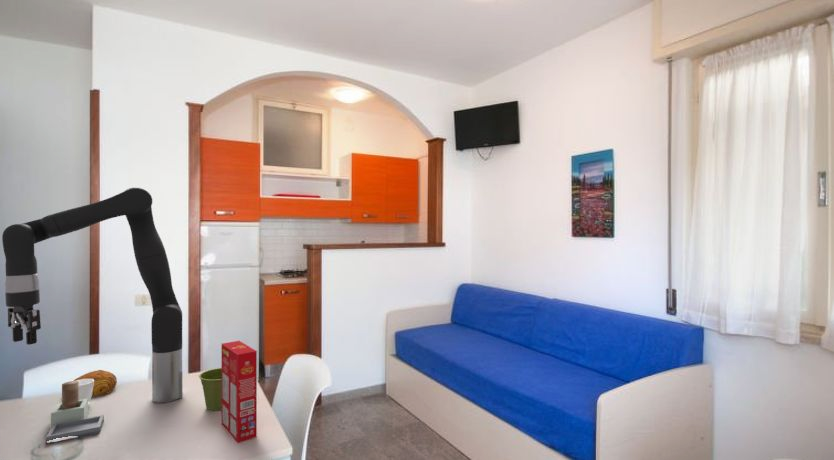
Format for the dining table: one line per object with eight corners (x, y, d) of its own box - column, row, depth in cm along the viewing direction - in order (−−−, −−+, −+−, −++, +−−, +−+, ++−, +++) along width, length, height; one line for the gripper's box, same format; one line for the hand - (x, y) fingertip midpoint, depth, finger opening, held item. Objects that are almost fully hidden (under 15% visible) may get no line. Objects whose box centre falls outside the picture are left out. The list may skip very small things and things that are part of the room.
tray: (103, 421, 131) (103, 414, 131) (99, 433, 123) (99, 426, 123) (54, 430, 125) (53, 423, 125) (46, 444, 117) (46, 436, 117)
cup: (76, 411, 137) (76, 387, 137) (58, 406, 141) (57, 382, 141) (99, 403, 144) (99, 379, 144) (81, 398, 148) (81, 376, 147)
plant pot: (204, 417, 133) (204, 382, 133) (194, 405, 142) (194, 372, 142) (242, 407, 141) (242, 374, 141) (231, 396, 150) (231, 365, 150)
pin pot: (88, 413, 136) (88, 398, 136) (83, 423, 129) (83, 407, 129) (57, 419, 132) (57, 403, 132) (50, 429, 125) (50, 413, 125)
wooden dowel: (79, 417, 133) (79, 380, 133) (77, 422, 130) (77, 384, 130) (63, 420, 131) (63, 382, 131) (60, 425, 128) (60, 386, 128)
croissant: (113, 386, 165) (113, 365, 166) (119, 392, 153) (119, 370, 154) (65, 395, 155) (66, 373, 156) (68, 402, 144) (68, 378, 145)
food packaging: (256, 436, 121) (256, 351, 121) (237, 443, 118) (237, 354, 118) (239, 419, 132) (239, 340, 132) (221, 424, 129) (221, 343, 129)
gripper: (49, 288, 127) (51, 341, 128) (26, 286, 133) (28, 337, 134) (17, 292, 120) (20, 348, 121) (-5, 290, 127) (-3, 343, 127)
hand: (24, 342), depth 127 cm, fingers open, 8 cm apart
